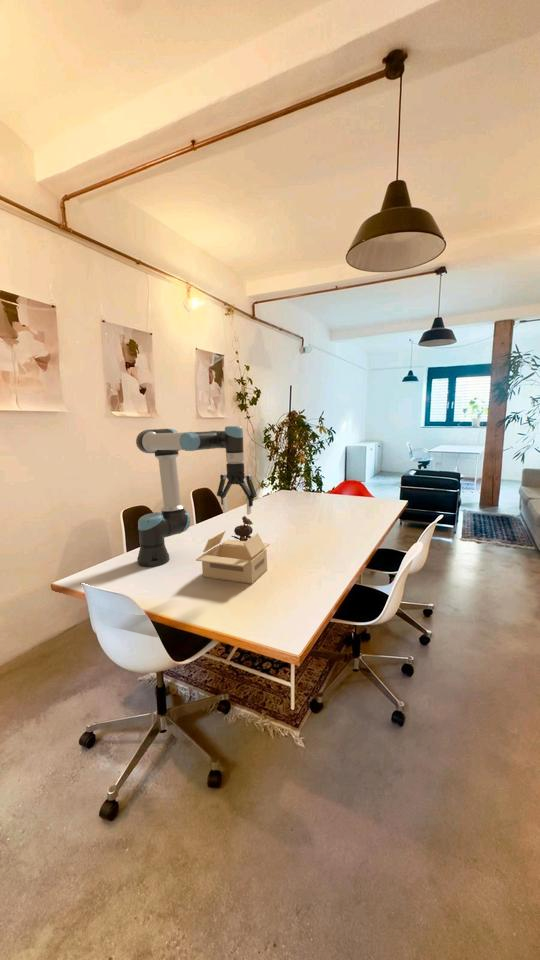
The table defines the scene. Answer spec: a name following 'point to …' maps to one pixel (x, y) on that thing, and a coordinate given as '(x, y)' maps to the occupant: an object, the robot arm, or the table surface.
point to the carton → (234, 563)
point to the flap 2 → (254, 545)
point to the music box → (243, 530)
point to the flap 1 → (214, 541)
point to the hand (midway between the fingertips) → (237, 513)
